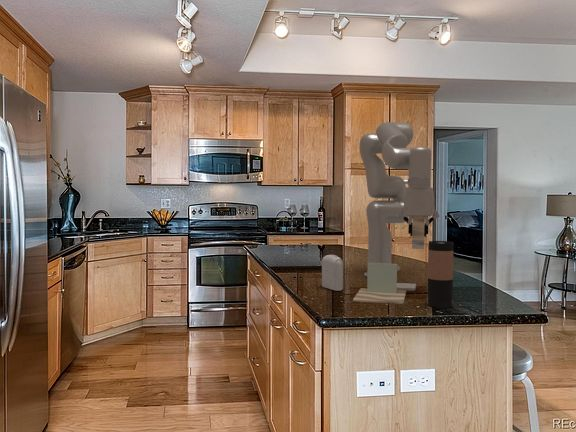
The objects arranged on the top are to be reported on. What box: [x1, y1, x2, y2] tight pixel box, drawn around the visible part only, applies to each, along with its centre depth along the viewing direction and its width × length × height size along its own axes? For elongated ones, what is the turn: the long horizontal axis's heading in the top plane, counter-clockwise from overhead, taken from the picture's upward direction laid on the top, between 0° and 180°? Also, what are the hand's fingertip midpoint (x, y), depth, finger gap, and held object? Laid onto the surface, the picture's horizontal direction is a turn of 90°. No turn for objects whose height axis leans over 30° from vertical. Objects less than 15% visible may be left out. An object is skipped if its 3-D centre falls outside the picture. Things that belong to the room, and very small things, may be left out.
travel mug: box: [427, 240, 454, 309], centre depth 167 cm, size 8×8×20 cm
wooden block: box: [411, 216, 426, 250], centre depth 186 cm, size 4×4×16 cm
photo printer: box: [321, 254, 344, 292], centre depth 195 cm, size 10×4×12 cm, turn 26°
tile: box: [366, 262, 398, 293], centre depth 186 cm, size 2×10×10 cm, turn 75°
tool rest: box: [397, 282, 417, 292], centre depth 198 cm, size 10×10×1 cm
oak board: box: [352, 287, 407, 305], centre depth 181 cm, size 20×16×1 cm
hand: (418, 235), depth 186 cm, fingers closed on wooden block, 4 cm apart
